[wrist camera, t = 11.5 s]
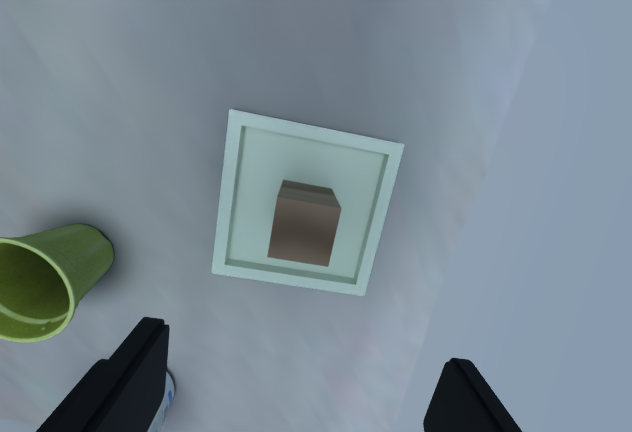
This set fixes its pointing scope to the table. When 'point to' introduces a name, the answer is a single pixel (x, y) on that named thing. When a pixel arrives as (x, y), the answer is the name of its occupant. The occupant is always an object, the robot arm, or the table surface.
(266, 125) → the sage tray
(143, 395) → the robot arm
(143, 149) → the table surface
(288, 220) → the walnut block
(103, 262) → the plant pot
